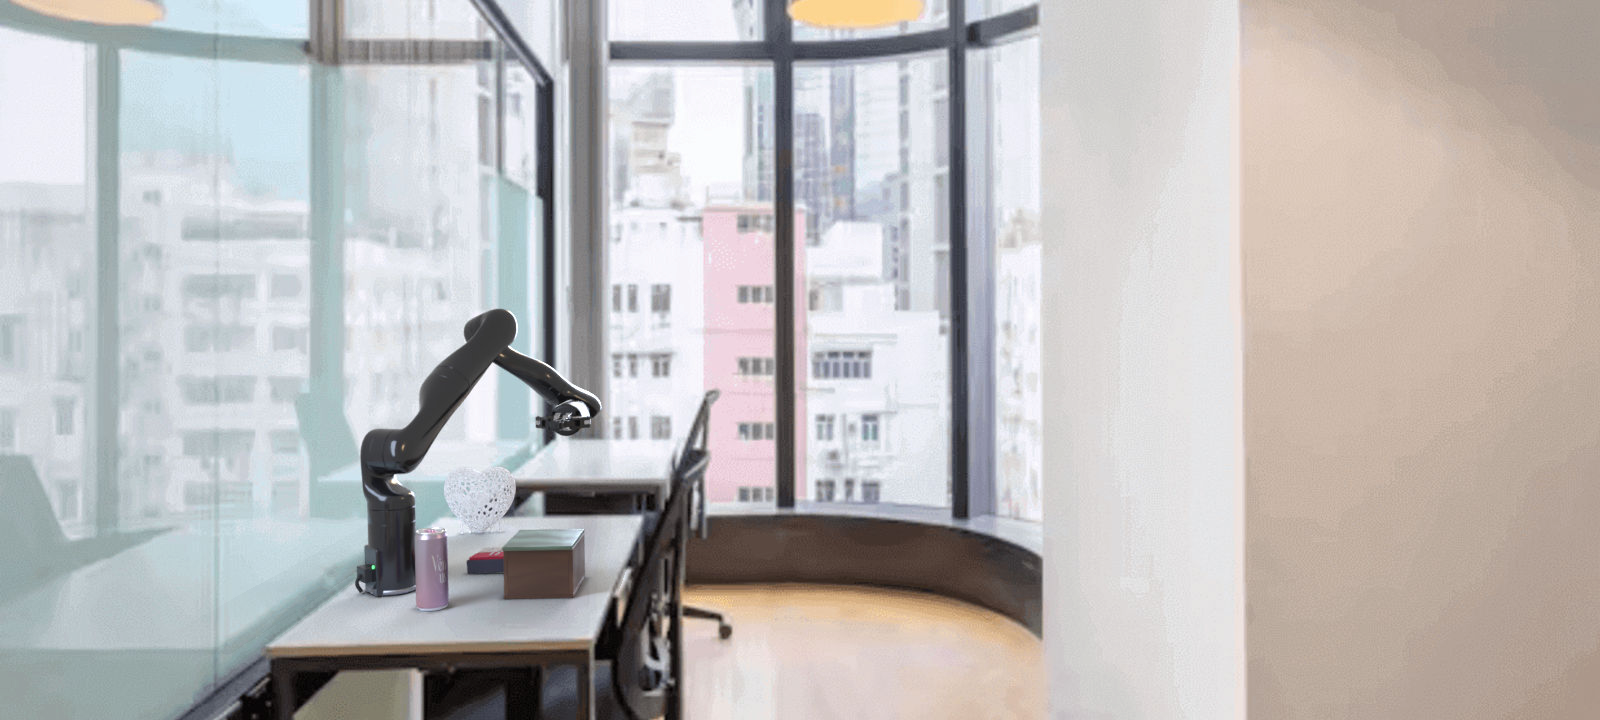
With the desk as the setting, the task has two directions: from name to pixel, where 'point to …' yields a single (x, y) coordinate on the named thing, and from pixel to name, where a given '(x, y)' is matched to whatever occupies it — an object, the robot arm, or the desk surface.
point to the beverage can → (431, 569)
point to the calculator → (486, 561)
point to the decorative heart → (479, 496)
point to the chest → (544, 572)
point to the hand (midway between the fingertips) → (556, 426)
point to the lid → (544, 540)
